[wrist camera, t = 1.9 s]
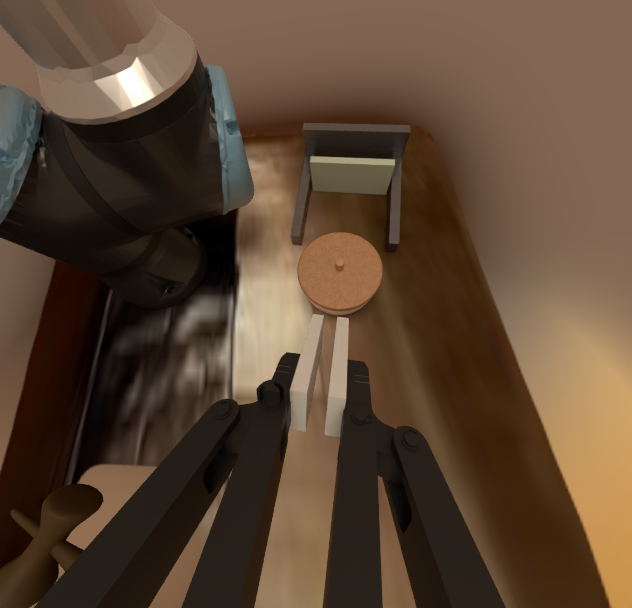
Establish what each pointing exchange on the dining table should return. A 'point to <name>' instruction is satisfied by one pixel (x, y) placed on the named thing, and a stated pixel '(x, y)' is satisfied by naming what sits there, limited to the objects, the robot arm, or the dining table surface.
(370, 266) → the lidded jar
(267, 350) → the dining table surface
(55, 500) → the kendama
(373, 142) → the grey u-shaped frame
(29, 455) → the dining table surface
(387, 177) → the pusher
